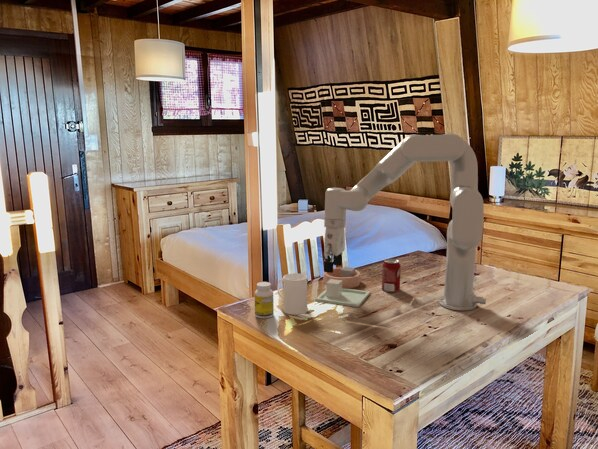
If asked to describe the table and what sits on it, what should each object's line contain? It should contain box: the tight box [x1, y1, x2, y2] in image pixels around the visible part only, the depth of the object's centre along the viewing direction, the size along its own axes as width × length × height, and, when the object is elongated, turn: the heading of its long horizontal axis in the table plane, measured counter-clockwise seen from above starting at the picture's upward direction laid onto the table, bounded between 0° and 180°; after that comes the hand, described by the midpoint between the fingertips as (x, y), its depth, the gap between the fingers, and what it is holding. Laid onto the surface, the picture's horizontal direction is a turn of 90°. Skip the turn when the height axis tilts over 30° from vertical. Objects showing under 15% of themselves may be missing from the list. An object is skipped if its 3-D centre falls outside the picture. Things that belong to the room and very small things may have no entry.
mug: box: [276, 272, 308, 316], centre depth 169 cm, size 12×8×12 cm
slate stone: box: [340, 266, 356, 277], centre depth 196 cm, size 4×4×6 cm
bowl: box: [322, 267, 361, 289], centre depth 197 cm, size 14×14×4 cm
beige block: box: [325, 279, 342, 299], centre depth 182 cm, size 4×4×6 cm
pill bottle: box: [254, 281, 275, 319], centre depth 164 cm, size 6×6×11 cm
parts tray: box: [315, 288, 371, 308], centre depth 181 cm, size 16×15×1 cm
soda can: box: [381, 258, 402, 293], centre depth 188 cm, size 7×7×12 cm
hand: (333, 268), depth 180 cm, fingers open, 9 cm apart
